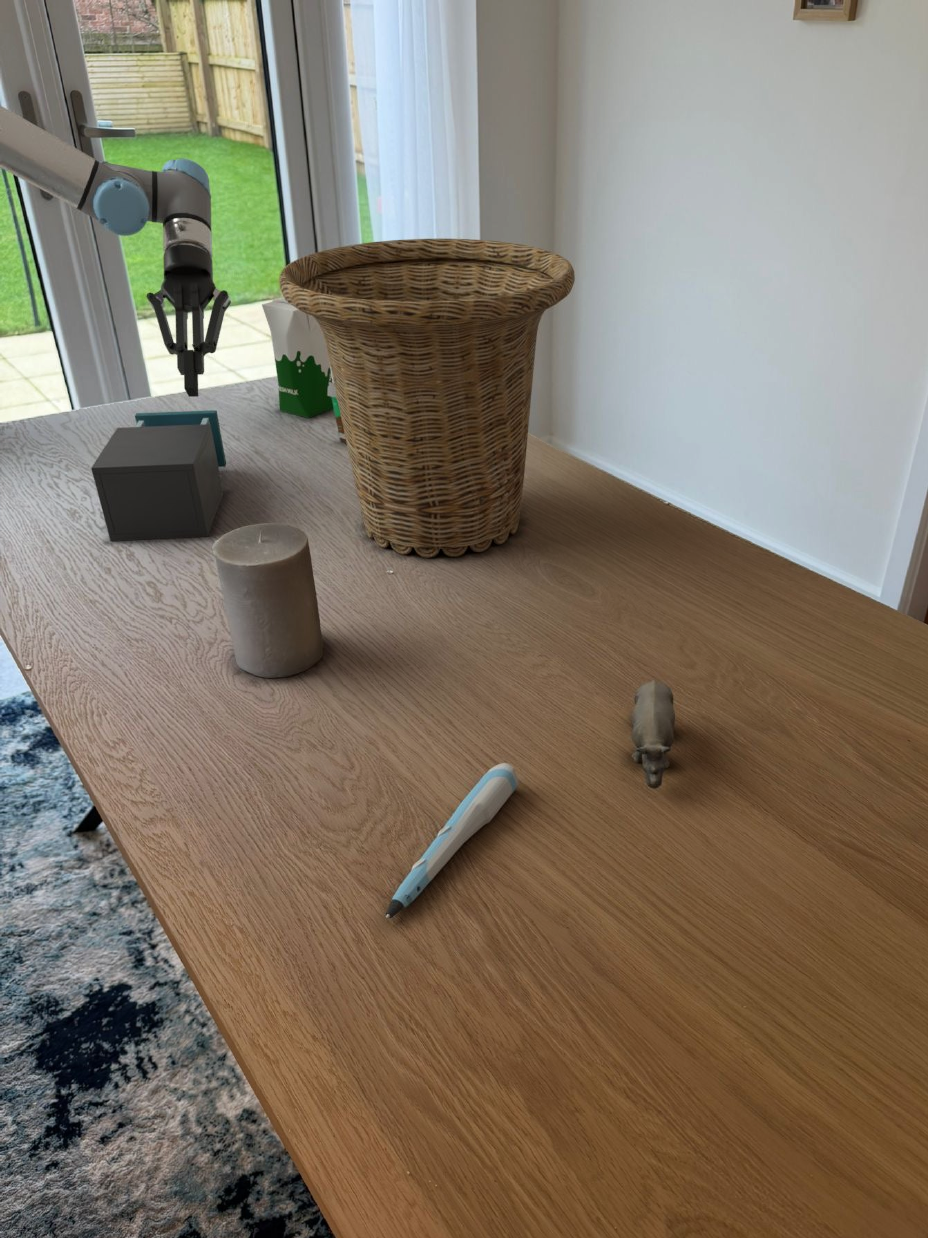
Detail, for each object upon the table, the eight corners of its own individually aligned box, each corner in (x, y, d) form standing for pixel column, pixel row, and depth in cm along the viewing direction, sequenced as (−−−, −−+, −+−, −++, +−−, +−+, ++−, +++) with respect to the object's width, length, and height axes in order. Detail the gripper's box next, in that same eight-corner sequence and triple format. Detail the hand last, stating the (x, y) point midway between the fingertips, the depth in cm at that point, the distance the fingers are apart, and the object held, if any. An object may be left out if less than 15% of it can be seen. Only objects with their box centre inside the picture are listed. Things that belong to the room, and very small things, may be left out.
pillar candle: (323, 629, 118) (307, 507, 109) (324, 674, 110) (306, 548, 101) (237, 636, 116) (213, 514, 108) (231, 683, 108) (205, 555, 100)
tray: (156, 453, 160) (144, 400, 155) (231, 450, 161) (222, 397, 156) (129, 503, 144) (115, 446, 139) (213, 500, 145) (202, 443, 140)
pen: (491, 780, 95) (490, 756, 93) (521, 790, 94) (521, 766, 92) (372, 919, 81) (369, 893, 79) (406, 932, 80) (403, 906, 78)
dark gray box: (133, 496, 149) (117, 427, 143) (223, 492, 150) (210, 423, 144) (110, 541, 137) (90, 467, 131) (207, 536, 138) (192, 463, 132)
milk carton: (344, 406, 180) (331, 287, 169) (307, 421, 174) (291, 298, 163) (308, 397, 185) (293, 280, 173) (271, 411, 178) (253, 290, 167)
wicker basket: (485, 457, 160) (478, 227, 141) (621, 539, 136) (635, 275, 117) (274, 509, 145) (234, 258, 126) (385, 611, 121) (357, 320, 102)
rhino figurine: (626, 806, 92) (630, 753, 88) (630, 717, 103) (633, 667, 100) (673, 809, 91) (678, 756, 88) (671, 720, 103) (676, 669, 99)
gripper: (139, 243, 161) (141, 382, 157) (223, 240, 162) (228, 379, 158) (153, 271, 168) (156, 405, 164) (234, 268, 169) (238, 401, 165)
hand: (191, 392), depth 161 cm, fingers closed
